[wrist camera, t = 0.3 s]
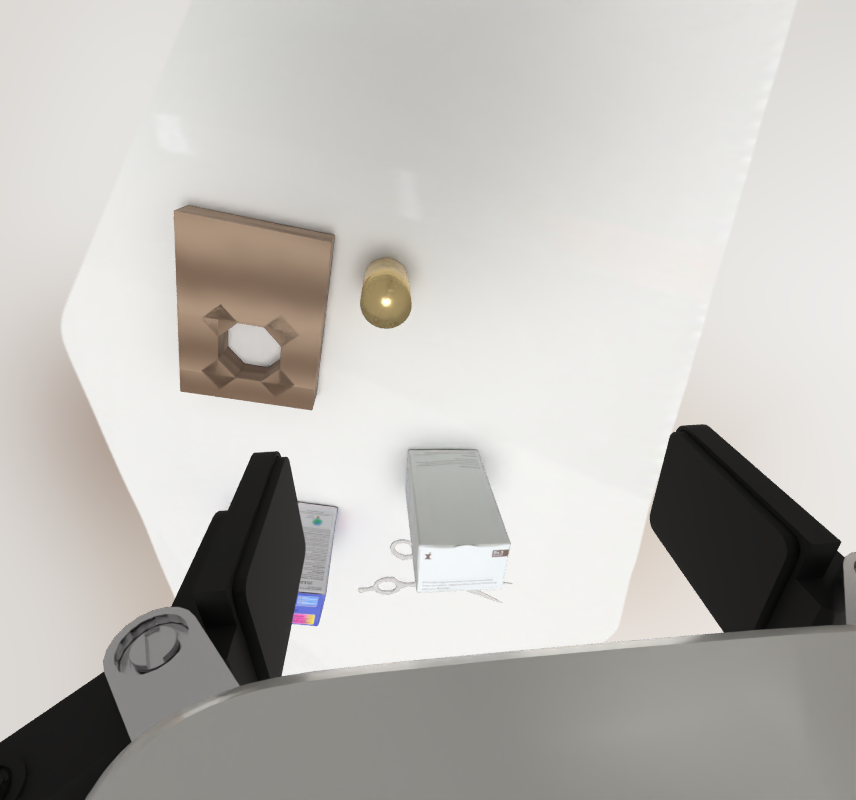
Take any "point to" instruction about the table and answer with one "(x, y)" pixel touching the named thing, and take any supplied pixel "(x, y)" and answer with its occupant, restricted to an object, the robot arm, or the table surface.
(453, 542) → the skincare box
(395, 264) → the brass cylinder
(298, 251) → the jig
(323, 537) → the ink cartridge box
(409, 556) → the scissors
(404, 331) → the table surface
